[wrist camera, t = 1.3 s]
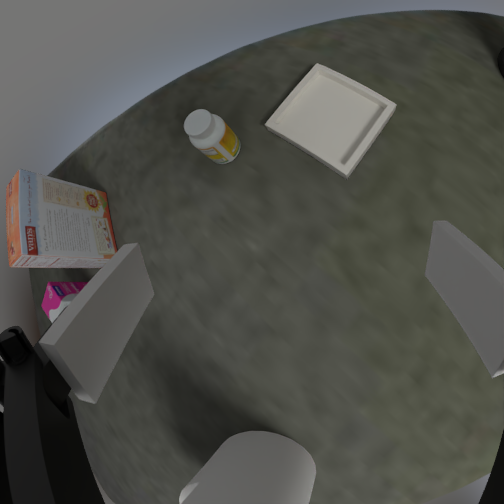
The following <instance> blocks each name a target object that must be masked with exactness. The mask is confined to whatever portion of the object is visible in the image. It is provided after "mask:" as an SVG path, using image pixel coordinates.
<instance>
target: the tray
mask: <svg viewBox="0 0 504 504" xmlns="http://www.w3.org/2000/svg"><path fill="white" fill-rule="evenodd" d="M395 109H396V104H395V103H393V102H392V101H390V100H388V99H387V98H385V97H383V96H381V95H380V94H378V93H376V92H374V91H373V90H371V89H369V88H367V87H365V86H363V85H362V84H360V83H358V82H356V81H354V80H352V79H350V78H348V77H346V76H344V75H342V74H340V73H338V72H336V71H333V70H331V69H329V68H327V67H325V66H322V65H320V64H318V63H317V64H316V65H315V66H314V67H313V68H312V69H311V70H310V71H309V72H308V74H307V75H306V76H305V77H304V78H303V79H302V80H301V82H300V83H299V84H298V85H297V86H296V87H295V89H294V90H293V91H292V92H291V93H290V94H289V96H288V97H287V98H286V99H285V100H284V101H283V103H282V104H281V105H280V106H279V107H278V109H277V110H276V111H275V112H274V114H273V115H272V116H271V117H270V118H269V120H268V121H267V122H266V123H265V126H266V128H267V129H268V131H270V132H272V133H274V134H275V135H277V136H279V137H280V138H282V139H284V140H285V141H287V142H289V143H290V144H292V145H294V146H295V147H297V148H299V149H300V150H302V151H304V152H305V153H307V154H308V155H310V156H311V157H313V158H315V159H316V160H318V161H319V162H321V163H322V164H324V165H325V166H327V167H328V168H330V169H331V170H333V171H334V172H336V173H337V174H339V175H340V176H342V177H343V178H345V179H346V180H347V179H348V177H349V176H350V175H351V173H352V172H353V170H354V169H355V168H356V166H357V165H358V163H359V162H360V161H361V159H362V158H363V156H364V155H365V154H366V152H367V151H368V149H369V148H370V146H371V145H372V144H373V142H374V141H375V139H376V138H377V136H378V135H379V134H380V132H381V131H382V129H383V128H384V126H385V125H386V123H387V122H388V121H389V119H390V118H391V116H392V115H393V113H394V112H395Z"/></svg>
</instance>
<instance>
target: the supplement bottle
mask: <svg viewBox="0 0 504 504" xmlns="http://www.w3.org/2000/svg"><path fill="white" fill-rule="evenodd" d="M184 130H185V132H186V133H187V134H188V135H189V139H190V141H191V143H192V144H193V145H194V146H195V147H196V148H197V149H199V150H200V151H201V152H202V153H204V154H205V155H206V156H207V157H209V158H210V159H211V160H212V161H214V162H216V163H219V164H225V163H229V162H231V161H232V160H234V159H235V158H236V156H237V155H238V153H239V151H240V140H239V138H238V137H237V136H236V135H235V133H234V132H233V131H232V130H231V129H230V128H229V126H228V125H227V124H226V123H225V122H224V121H223V119H222V118H221V117H219V116H217V115H215V114H211V113H210V112H208V111H207V110H204V109H198V110H195V111H193V112H192V113H191V114H189V115H188V117H187V118H186V120H185V122H184Z"/></svg>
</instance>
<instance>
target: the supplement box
mask: <svg viewBox="0 0 504 504" xmlns="http://www.w3.org/2000/svg"><path fill="white" fill-rule="evenodd" d="M87 283H88V282H48V285H47V288H46V292H45V296H44V299H43V303H42V308H43V309H44V311H45V313H46V314H47V316H48V317H49V319H50V320H51V322H52V323H53V322H54V320H55V319H56V318H58V315H59V314H60V313H61V312H62V311H63V309H64V308H65V307H66V306H68V305H69V304H70V303H71V302H72V300H73V299H74V298H75V297H76V296H77V295H78V294H79V292H80V291H81V290H82V289H83V288H84V287H85V286H86V285H87Z"/></svg>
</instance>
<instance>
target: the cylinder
mask: <svg viewBox="0 0 504 504" xmlns="http://www.w3.org/2000/svg"><path fill="white" fill-rule="evenodd" d="M315 476H316V467H315V463H314V461H313V459H312V457H311V455H310V454H309V453H308V452H307V451H306V450H305V448H304V447H303V446H301V445H300V444H298V443H297V442H295V441H293V440H292V439H290V438H287V437H285V436H282V435H280V434H277V433H271V432H267V431H247V432H242V433H238V434H236V435H234V436H231V437H229V438H228V439H227V440H226V441H225V442H224V443H223V444H222V445H221V446H220V447H219V448H218V450H217V451H216V452H215V453H214V455H213V456H212V457H211V458H210V459H209V460H208V462H207V463H206V464H205V465H204V466H203V467H202V469H201V470H200V471H199V472H198V473H197V474H196V475H195V477H194V478H193V479H192V480H191V481H190V482H189V483H188V484H187V486H186V487H185V488H184V489H183V490H182V492H181V494H180V497H179V501H180V504H309V500H310V497H311V493H312V488H313V484H314V480H315Z"/></svg>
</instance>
